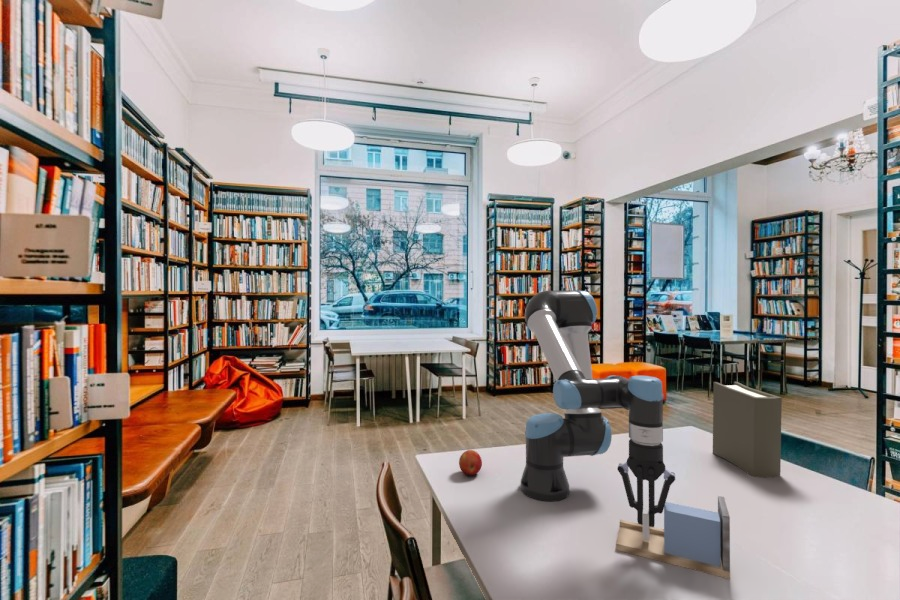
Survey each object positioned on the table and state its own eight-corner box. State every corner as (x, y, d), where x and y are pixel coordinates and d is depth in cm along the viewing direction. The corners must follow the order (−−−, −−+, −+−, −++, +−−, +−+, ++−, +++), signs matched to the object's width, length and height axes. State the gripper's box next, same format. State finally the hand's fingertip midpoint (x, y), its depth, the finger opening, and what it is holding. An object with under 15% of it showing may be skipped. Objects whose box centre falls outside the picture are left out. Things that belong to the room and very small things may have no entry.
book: (782, 478, 139) (783, 396, 138) (755, 479, 139) (756, 396, 138) (736, 452, 161) (737, 381, 160) (712, 453, 160) (713, 382, 159)
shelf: (616, 549, 100) (615, 494, 100) (620, 528, 109) (619, 478, 109) (730, 578, 89) (729, 516, 89) (724, 553, 98) (723, 496, 98)
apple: (483, 470, 147) (482, 447, 146) (480, 480, 138) (480, 456, 138) (460, 468, 148) (460, 446, 148) (457, 478, 140) (457, 455, 140)
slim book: (664, 552, 96) (664, 510, 96) (664, 542, 100) (664, 501, 100) (720, 567, 91) (720, 521, 91) (718, 555, 95) (718, 512, 95)
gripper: (615, 441, 100) (615, 538, 100) (676, 450, 94) (676, 554, 94) (618, 432, 106) (619, 523, 106) (675, 440, 100) (676, 537, 100)
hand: (646, 537), depth 100 cm, fingers closed
